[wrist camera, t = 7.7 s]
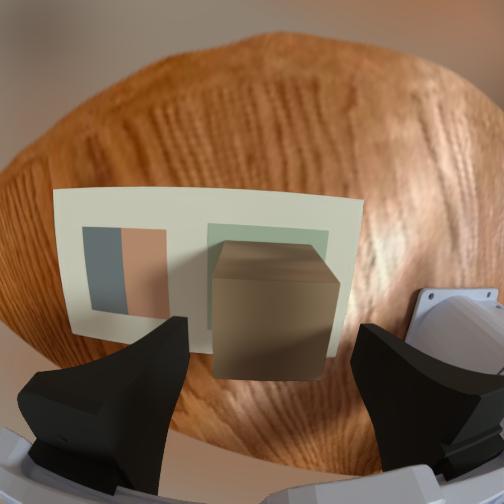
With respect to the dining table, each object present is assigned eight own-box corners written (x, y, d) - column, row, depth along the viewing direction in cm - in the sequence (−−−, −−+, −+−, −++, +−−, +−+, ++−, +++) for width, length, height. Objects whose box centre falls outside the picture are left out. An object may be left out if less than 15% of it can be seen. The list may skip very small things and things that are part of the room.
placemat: (362, 199, 16) (364, 200, 16) (334, 355, 19) (335, 357, 19) (54, 189, 16) (53, 189, 16) (73, 332, 19) (72, 333, 19)
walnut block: (311, 244, 17) (340, 283, 11) (301, 319, 18) (320, 380, 12) (225, 240, 17) (212, 277, 11) (223, 317, 18) (213, 378, 12)
